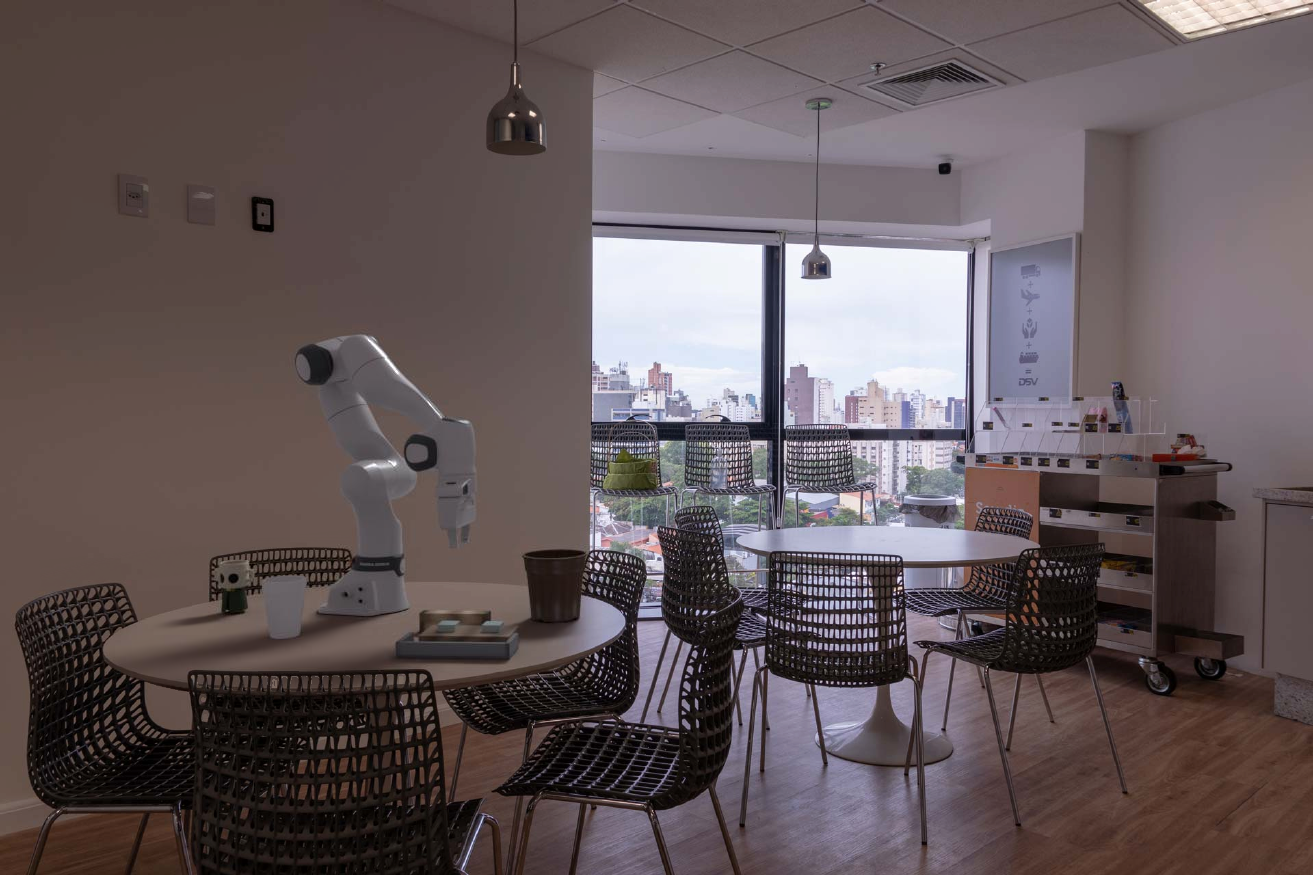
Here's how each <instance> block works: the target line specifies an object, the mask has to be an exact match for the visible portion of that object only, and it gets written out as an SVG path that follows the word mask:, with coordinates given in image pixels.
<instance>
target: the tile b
mask: <svg viewBox="0 0 1313 875" xmlns="http://www.w3.org/2000/svg"><path fill="white" fill-rule="evenodd" d="M504 622H505V621H504V620H499V621H498V620H491V621H486V622H485V623H484V624H483V625H482V632H500V631H501V630H502V629H503V628H504V626H505V623H504Z"/></svg>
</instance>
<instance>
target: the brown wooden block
mask: <svg viewBox="0 0 1313 875" xmlns="http://www.w3.org/2000/svg"><path fill="white" fill-rule="evenodd" d="M418 614H419V616H418V619H419V620H418V622H419V628H418V629H419V630H418V631H419V633H420V634H421V633H423V632H424V631H425V630H426V629H428V628H429V627H430V626H432V625H438V624H439V623H440V622H441V621H460V625H471V626H482V625H483V624H484V623H485V622H486V621H492V611H491V610H463V609H462V610H461V609H460V610H457V609H456V610H455V609H451V610H450V609H447V610H446V609H441V610H440V609H436V610H435V609H423V610H421V611H420V612H419V613H418Z"/></svg>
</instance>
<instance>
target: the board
mask: <svg viewBox="0 0 1313 875" xmlns="http://www.w3.org/2000/svg"><path fill="white" fill-rule="evenodd" d="M519 628H520V627H519V625H504V628H503V629H502V630H501V631H500V632H482V626H471V625H460V628H459V629H458V630H457V631H455V632H437V625H432V626H430V627H429V628H428V629H426V630H425V631H424V632H423V633H420V634H419V635H418V641H425V642H507V640H508V639H509V638H510V637H511V636H512V635H513V634H514V633H518V638H520V634H519V632H520V630H519Z"/></svg>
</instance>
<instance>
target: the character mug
mask: <svg viewBox="0 0 1313 875" xmlns="http://www.w3.org/2000/svg"><path fill="white" fill-rule="evenodd" d="M213 575H214V576H213V579H214V581H215V582H218V585H219V587H220V588H222V589H224V591H223V593H222V598H221V611H220V612H221V613H224V614H225V613H227V611H228V613H229V614H234V613H242V612H244V611H246V610H247V609H249V605H248V598H247V593H246V589H245V587H247V586H249V584H250V583H253V582H255V569H252V568H250V561H249V560H245V559H233V560H232V559H231V560H224V561H220V562H219V563H218V568H215V569H214V570H213Z"/></svg>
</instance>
